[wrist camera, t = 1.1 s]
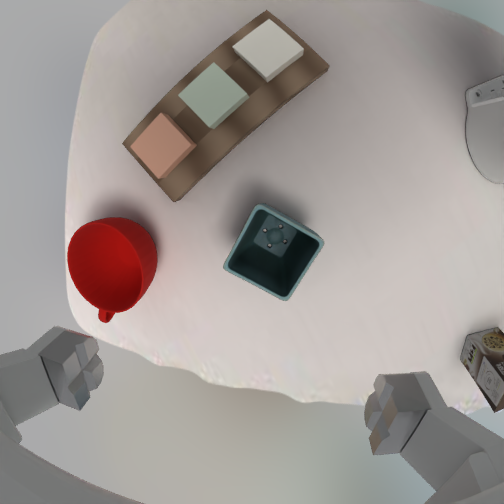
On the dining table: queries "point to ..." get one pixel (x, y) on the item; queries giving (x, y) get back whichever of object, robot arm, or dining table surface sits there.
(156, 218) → the dining table surface
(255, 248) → the flower pot
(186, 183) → the button board
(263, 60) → the white square block
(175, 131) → the pink square block
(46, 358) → the robot arm
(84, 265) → the ceramic cup
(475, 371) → the coffee box
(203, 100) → the sage tile
